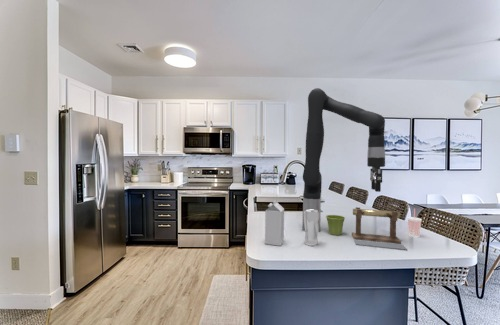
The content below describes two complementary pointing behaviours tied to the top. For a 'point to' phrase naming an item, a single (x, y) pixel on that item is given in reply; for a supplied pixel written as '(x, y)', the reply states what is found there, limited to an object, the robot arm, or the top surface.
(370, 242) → the slate mat
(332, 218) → the plant pot
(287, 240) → the top surface
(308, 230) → the beer glass
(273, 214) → the milk carton
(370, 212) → the brass rail
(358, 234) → the hook stand
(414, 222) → the beverage cup
